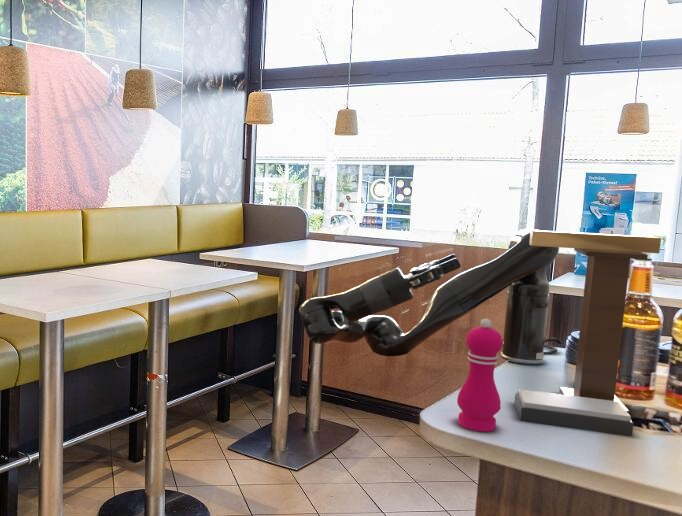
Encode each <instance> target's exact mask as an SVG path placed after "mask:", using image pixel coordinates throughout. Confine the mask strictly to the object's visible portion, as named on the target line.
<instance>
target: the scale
mask: <svg viewBox="0 0 682 516" xmlns="http://www.w3.org/2000/svg"><path fill="white" fill-rule="evenodd" d="M513 403H514V404H513V405H514V408H515V410H516V413H517V415H518V418H519V420H520V421H522V422H523V421H524V422H530V423H536V424H544V425H550V426H556V427H557V426H558V427H564V428H573V429H579V430H585V431H593V432H600V433H607V434H614V435H621V436H629V437H633V432H634V421H633V420H632V416H631V415H630V413H629V414H628V413H627V411H626V410H625V409H624V408H623V407H622V406H621V405H620V403H619V402H618V401H610V400H602V399H594V398H586V397H578V396H570V395H563V394H559V393H554V392H547V391H538V390H531V389H523V388H518V390H517V392H515V393H514V402H513Z"/></svg>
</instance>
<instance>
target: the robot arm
mask: <svg viewBox="0 0 682 516" xmlns="http://www.w3.org/2000/svg"><path fill="white" fill-rule="evenodd" d="M531 230H536V229H534V228H524V229H520V230H519V231H516V232H515V234H513V235H512V237H511V238H510V240H509V244H508V247H507V248H508V249H507V250H506V252H504V253H502V254H501V255H500V256H497V258H495V259H493V260H491V261H489V262H486V263H483V264H480V265H477V266H475V267H473V268H470V269H468V270H465V271H463V272H461V273H459V274H457V275H455V276H454V277H452V278H451V279H449V280H448V281H446V282H444V283H443V284H441V285H440V286H438V287H437V288H436V289H435V291H434V292H433V294H432V295H431V297H430V299H429V302H428V304H427V306H426V308H425V310H424V313H423V315H422V317H421V318H420V320H419V321H418V322H417V324H415V325H414V327H412V328H411V329H410V330H409V331H408V332H406V333H405V332H404V330H403V329H402V328H401V326H400V325H399V324H398V323H397V321H396V320H395V319H393V318H392V317H391V316H387V315H374V314H379V313H381V312H384V311H387V310H390V309H392V308H394V307H396V306H398V305H399V306H400V305H401V304H403V303H406V302H409V301H411V300H413V298H414V293H413V291H412V290H418V289H419V288H422V287H425V286H426V285H429V284H431V283H434V282H435V281H439V280H441V278H443V277H444V275H446V274H448V273H451V272H453V271H457V270H458V269H460V268H461V267H462V266H461V263H460V261H459V259H458V258H457V255H456V254H455V253H452V254H449V255H448V256H445V257H442V258H441V259H436V260H435V259H434V260H430V262H426V263H424V264H421V265H419V266H416V267H413V268H411V269H410V271H408V274H406V275H405V274H404V273H403V271H402V270H401V269H400V268H399V267H395V268H393V269H391V270H388V271H386V272H384V273H382V274H379V275H377V276H375V277H373V278H370V279H368V280H366V281H365V282H363V283H361V284H360V285H358V286H355V287H353V288H351V289H349V290H346V291H344V292H340V293H336V294H331V295H324V296H318V297H317V296H316V297H312V298H309V299H307V300H305V301H304V302H302V303H301V305H300V307H299V309H298V313H299V316H300V319H301V322H302V325H303V327H304V330H305V332H306V335H307V338H308V339H309V341H311V342H312V343H314V344H316V345H322V344H326V343H329V342H333V341H337V342H341V343H346V344H352V343H357V342H359V341H360V340H362V339H363V338H364V340H365V342H366V344H367V345H368V347H369V348H370V349H371V351H372V352H373V353H374V354H375V355H379V356H383V357H399V356H405V355H407V354H409V353H410V352H411V351H413V350H414V349H416V348H417V347H419V346H420V345H421V344H422V343H424V342H425V341H427V340H428V339H429V338H430V337H431V336H434V335H435V334H437V332H439V331H441V330H443V329H444V328H446V327H447V326H450V324H452V323H454V322H455V321H457V320H459V319H462V318H463V317H464V316H466V315H467V314H469V313H472V311H474V310H476V309H477V308H479V307H480V306H481V305H483V304H484V303H486V302H488V301H490V299H493V298H494V297H495V296H497V295H498V294H500V293H501V292H502V291H504V290H505V289H507V294H506V295H507V296H506V308H505V317H504V327H503V328H504V329H503V336H502V340H503V345H502V348H501V354H500V356H501V359H503V360H506V361H509V362H510V363H516V364H521V365H522V364H523V365H541V364H543V362H544V356H545V355H553V354H556V353H557V352H558V349H557V347H555V346H552V345H549V344H546V343H548V342H556V343H557V344H559V345H562V341H561V340H560V339H558V338H555V337H550V338H549V337H548V338H546V330H547V321H548V320H547V319H548V311H549V299H550V291H551V290H550V289H551V285H550V282H549V281H548V277H547V266H549V265H551V264H552V263H553V262H554V261H555V260H556V258H557V257H558V255H559V253H560V247H546V246H531V245H530V244H529V242H530V232H531ZM544 349H549V351H544Z"/></svg>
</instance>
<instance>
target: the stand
mask: <svg viewBox="0 0 682 516" xmlns="http://www.w3.org/2000/svg"><path fill="white" fill-rule="evenodd" d="M573 251H575V252H577V253H579V254H581V255H584V256H586V257H587V260H586V268H585V278H584V279H585V280H584V288H583V296H582V304H581V305H582V306H581V315H580V325H579V334H578V343H577V354H576V362H575V371H574V379H573V381H574V382H573V388H570V387H563V386H560V387H559V389H558V390H559V391H558V394H563V395H570V396H578V397H586V398H594V399H602V400H610V401H618V402H619V403H620V405H621V406H622V407H623V408H624V409H625V410H626V411H627V413H628V414H629V415H630V410H629V409H628V408H627V407H626V406H625V404H623V402H622V401H621V400H620V399H619V397H617V395H616V389H617V388H616V386H617V379H618V370H619V361H620V354H621V353H620V351H621V342H622V335H623V325H624V318H625V310H626V309H625V307H626V299H627V290H628V281H629V275H630V274H629V272H630V265H631V260H644V261H647V260H648V257H649V254H648V253H644V252H627V251H611V250H595V249H579V248H573Z"/></svg>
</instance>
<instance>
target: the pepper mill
mask: <svg viewBox="0 0 682 516" xmlns="http://www.w3.org/2000/svg"><path fill="white" fill-rule="evenodd" d="M491 326H492V321H491V320H490V319H489V318H483V319H481V320H480V326H477V327H474V328H472V329H470V330H469V332H467V335H466V341H465V343H466V346H467V348H468V349H469V351H468V352H467V355H468V356H467V360H468V361H469V371H468V375H467V378H466V380H465V382H464V383H463V385H462V386H461V388H460V389H459V392H458V394H457V398H456V403H457V406H458V408H459V409H460V410H461V411H460V412H459V413H458V418H457V419H458V420H457V423H458V424H459V425H460V426H461V427H463V428H465V429H467V430H471V431H476V432H482V433H483V432H485V433H486V432H493V431H495V430H496V427H497V426H496V425H497V419H496V417H495V416H496V415H497V414H498V413H499V412H500V410H501V397H500V394H499V391H498V388H497V385H496V382H495V377H494V373H495V366H496V365H497V364H498V363H499V361H498V360H499V355H498V353H499V352H500V351H502V347H503V336H502V335H501V333H500V332H499V331H497V329H495V328H492V327H491Z"/></svg>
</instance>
